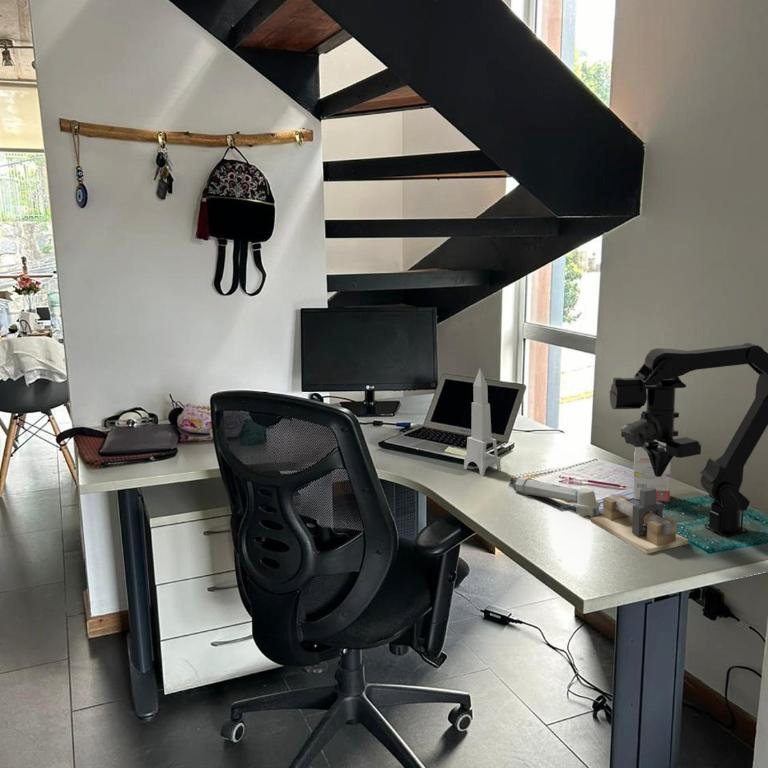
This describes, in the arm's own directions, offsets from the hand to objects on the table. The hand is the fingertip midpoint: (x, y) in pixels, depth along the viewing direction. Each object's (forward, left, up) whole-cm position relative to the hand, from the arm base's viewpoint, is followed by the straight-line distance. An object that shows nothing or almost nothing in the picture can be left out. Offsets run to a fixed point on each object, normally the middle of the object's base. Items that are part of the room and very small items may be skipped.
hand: (658, 476), depth 159 cm
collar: (+4, +2, -12) cm, 12 cm away
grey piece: (+10, -25, -14) cm, 30 cm away
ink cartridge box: (-13, -17, -13) cm, 25 cm away
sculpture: (+14, -56, -13) cm, 59 cm away
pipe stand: (+4, -1, -13) cm, 14 cm away
